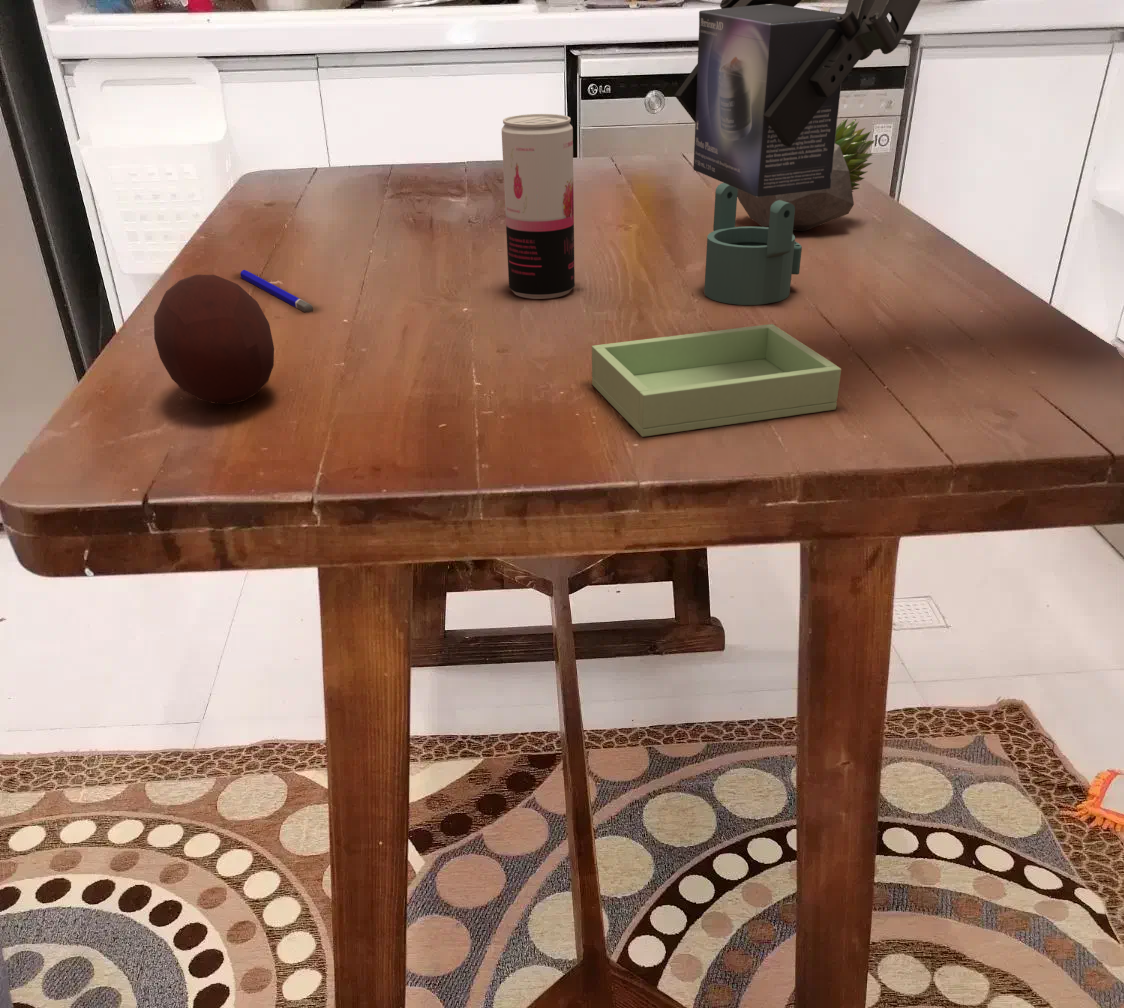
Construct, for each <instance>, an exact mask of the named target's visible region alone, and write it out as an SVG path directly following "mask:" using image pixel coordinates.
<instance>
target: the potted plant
mask: <svg viewBox="0 0 1124 1008" xmlns="http://www.w3.org/2000/svg"><path fill="white" fill-rule="evenodd" d="M848 120H849V118H846V119H843V120H842V121H841V122H840V123H839V124H838V125H837V128H836V136H835V147H834V157H833V169H832V183H831V188H830V189H826V190H817V191H808V192H800V193H791V194H782V195H773V196H765V197H755V196H753V195H751V194H748V193H746V192H744V191H742V190H739V189H737V190H738V193H737V200H738V201H739V203H740V204H741V206H742V207H743V209H744V211H745V212H746V213H747V216H748V217H749V218H750V219H751V220H752V221H754V222H755V223H756V224H758V225H759V226H760V227H768V228H769V219H770V208H771V205H772V204H773V203H774V202H775V201H777V200H781V201H785V202H788V203H791V204H793V205H794V206H795V215H794V225H793V231H800V232H806V231H809V230H811V229H813V228H816V227H819V226H821V225H823V224H826V223H829V222H831V221H834V220H836V219H839V218H842V217H844V216H846V215H849V213H850V212H851V211H852V209H853V208H854V205H855V202H854V195H853V193H854V190H859V189H860V187H857V186H860V183H858V182H860V181H863V180H864V179H865V177H862V175H865V174H867V173H868V170H867V171H866V170H865V171H863V170H864V169H865V168H867V167H868V166H870V165H872V164H873V162H868V159H869V158H871V157H872V156H873V152H872V153H871V152H870V153H869V152H868V150H869V149H870V148H871V146H872V145H873V144H874V143H875V139H874V140H871V139H870V140H867V139H868V137H869V136H870V134H871V133H872V131H871V130H870V131H868V132H865V133H863V132H864V130H866V127H864V128H860V129H857V130H856V128H857V126H858V124H859V121H857V122H856V120H857V118H855V119H853V120H852V121H851V122H850V123H849V124H848V125H846V124H847V123H848ZM855 122H856V123H855Z"/></svg>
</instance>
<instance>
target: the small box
mask: <svg viewBox="0 0 1124 1008" xmlns="http://www.w3.org/2000/svg"><path fill="white" fill-rule="evenodd" d="M842 14H843V13H838V12H832V11H825V10H818V9H810V8H803V7H797V6H794V7H791V6H785V5H779V4H764V5H754V6H743V7H733V8H723V9H721V8H715V9H713V8H712V9H703V10H699V12H698V40H697V44H698V45H697V51H698V52H697V64H698V68H697V95H696V122H694V124H695V125H694V144H693V145H694V146H693V166H692V169H693V171H695V172H698V173H700V174H702V175H704V176H707V177H709V178H712V179H714V180H716V181H718V182H721V183H725V184H728V185H730V186H732V187H735V188H737V189H739V190H742V191H744V192H746V193H748V194H751V195H753V196H755V197H765V196H773V195H782V194H791V193H800V192H808V191H817V190H826V189H830V188H831V183H832V169H833V157H834V147H835V136H836V128H837V127H838V117H839V109H840V108H839V107H840V99H841V91H842V83H840V86H839V87H838V88H837V89H836V91H835V92H834V93H833V94H832V95H831V96H829V97H828V98H827V100H826V101H825V102H824V104H823V105H822V106H821V107H820V109H819V110H818V111H817V113H816V114H815V115H814V117H813V118H812V119H811V121H810V122H809V123H808V125H807V126H806V127H805V128H804V130H803V131H802V132H801V134H800V135H799V136H798V138H797V139H796V140H795V142H794V143H793V144H792V146H791V147H789V146H785V145H783V143H782V142H781V140H780V139H779V138H778V136H777V135H776V133H775V132H774V131H773V129H772V128H771V126H770V125H769V123H768V122H767V121H766V119H765V118H764V116H763V115H764V114H765V113H766V111H767V110H768V109H769V107H770V106H771V105H772V103H773V102H774V101H775V99H776V98H777V97H778V95H779V94H780V93H781V91H782V90H783V89H784V87H785V86H786V85H787V83H788V82H789V81H790V79H791V78H792V77H793V75H794V74H795V73H796V71H797V70H798V69H799V67H800V66H801V65H802V63H803V62H804V61H805V59H806V58H807V57H808V55H809V54H810V53H811V51H812V50H813V49H814V47H815V46H816V45H817V43H818V42H819V41H820V39H821V38H822V37H823V35H824V34H825V33H826V31H827V30H828V29H833V30H836V31H837V33H838V35H839V36H840V37H841V36H842V35H843V33H842V31H841V29H840V28H839V26H838V24H837V23H836V21H835V17H837V18H838V20H841V19H840V18H839V16H840V15H842Z"/></svg>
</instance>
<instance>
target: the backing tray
mask: <svg viewBox="0 0 1124 1008" xmlns="http://www.w3.org/2000/svg"><path fill="white" fill-rule="evenodd" d="M841 374H842V368H841V367H839V366H837V365H836V364H835V363H834V362H832V361H831V360H829V359H827V358H826V357H824V356H823V355H821V354H819V353H818V352H816V351H815V350H813V349H812V348H810V347H809V346H807V345H805V343H802V342H801V341H800V340H798V339H796V338H795V337H794V336H792V335H790V334H788V333H787V332H786V331H784V330H783V329H781V328H780V327H778V326H776V325H775V324H773V323H770V324H769V323H768V324H760V325H751V326H744V327H743V326H742V327H734V328H726V329H719V330H710V331H703V332H694V333H686V334H685V333H684V334H678V335H669V336H660V337H652V338H645V339H635V340H627V341H619V342H611V343H605V344H595V345H594V344H593V345H591V385H592V386H593V387H594V388H595V389H596V391H598V392H599V393H600V394H601V396H603V397H604V399H605V400H606V401H607V402H608V403H609V404H610V405H611V406H612V407H613V408H614V409H615V410H616V411H617V413H619V414H620V415H621V416H622V417H623V418H624V420H626V422H627V423H628V424H629V425H630V426H631V427H632V428H633V429H634V431H636V432H637V433H638V434H639V435H640V436H641V437H642V438H645V437H651V436H659V435H665V434H666V435H667V434H673V433H679V432H686V431H687V432H688V431H693V430H701V429H707V428H708V429H709V428H715V427H716V428H717V427H721V426H729V425H737V424H743V423H751V422H757V421H764V420H765V421H766V420H771V419H779V418H784V417H793V416H799V415H805V414H806V415H807V414H813V413H820V412H827V411H835V410H837V407H838V396H839V390H840V383H841Z"/></svg>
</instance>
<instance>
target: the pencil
mask: <svg viewBox="0 0 1124 1008" xmlns="http://www.w3.org/2000/svg"><path fill="white" fill-rule="evenodd" d="M239 275H240V278H241V279H242V280H244V281H246V282H247V283H250V284H251V285H253V286H255V287H256V288H259V289H260V290H262V291H264V292H266V293H268V294H269V295H272V296H274V297H275V298H277V299H279V300H280V301H283V302H285V303H287V304H289V305H290V306H292V307H294V308H296V309H298V310H300V311H301V312H303V313H312V312H313V311H314V306H313V305H312V304H311V303H309V302H308V301H305V300H303V299H301V298H299V297H297V296H295V295H294V294H292V293H290V292H288V291H286V290H285V289H283V288H280V287H279V286H277V285H275V284H273V283H271V282H269V281H268V280H266V279H263V278H261V277H260V276H258V275H256V274H254V273H252V272H251V271H248V270H247V269H242V270H241V271H240V274H239Z"/></svg>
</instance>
